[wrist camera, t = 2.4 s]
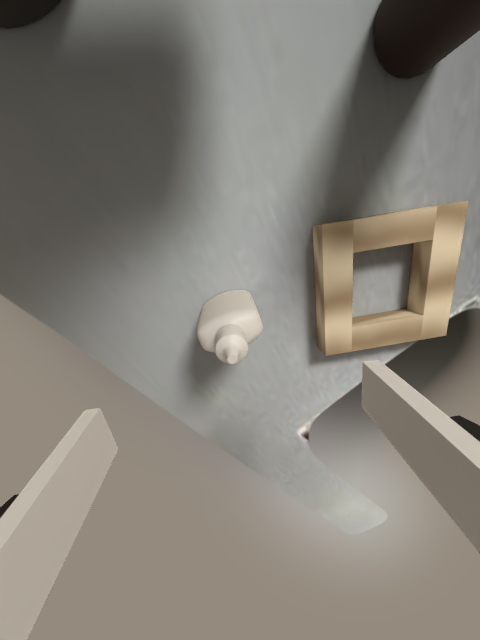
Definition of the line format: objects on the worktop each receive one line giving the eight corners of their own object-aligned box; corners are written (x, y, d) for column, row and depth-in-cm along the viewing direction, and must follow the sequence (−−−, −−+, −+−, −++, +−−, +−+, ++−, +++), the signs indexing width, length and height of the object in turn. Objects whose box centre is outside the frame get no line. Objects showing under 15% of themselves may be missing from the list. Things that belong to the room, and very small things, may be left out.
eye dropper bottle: (248, 327, 28) (266, 391, 17) (200, 320, 27) (185, 382, 16) (256, 291, 27) (281, 335, 16) (205, 282, 26) (193, 322, 15)
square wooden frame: (312, 225, 25) (322, 225, 22) (445, 203, 25) (468, 200, 23) (317, 346, 30) (325, 356, 27) (428, 327, 30) (445, 335, 28)
